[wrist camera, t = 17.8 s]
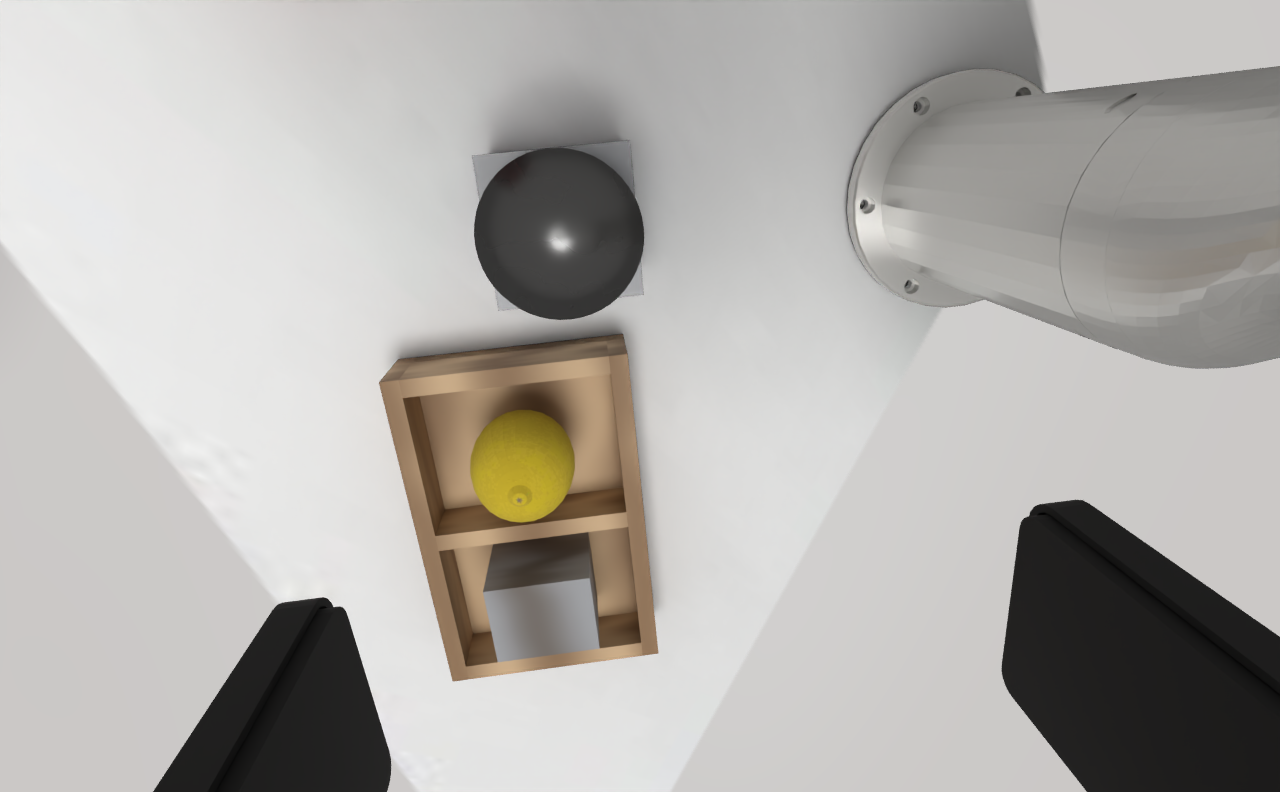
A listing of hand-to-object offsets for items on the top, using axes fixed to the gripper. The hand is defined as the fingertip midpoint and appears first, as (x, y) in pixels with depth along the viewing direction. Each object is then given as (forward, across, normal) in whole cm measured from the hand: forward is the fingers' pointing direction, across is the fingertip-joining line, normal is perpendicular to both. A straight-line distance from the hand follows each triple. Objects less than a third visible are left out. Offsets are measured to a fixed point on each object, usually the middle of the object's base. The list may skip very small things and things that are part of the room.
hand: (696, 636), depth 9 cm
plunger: (+29, +2, -3) cm, 30 cm away
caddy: (+30, +6, +14) cm, 34 cm away
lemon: (+29, +6, +9) cm, 31 cm away
